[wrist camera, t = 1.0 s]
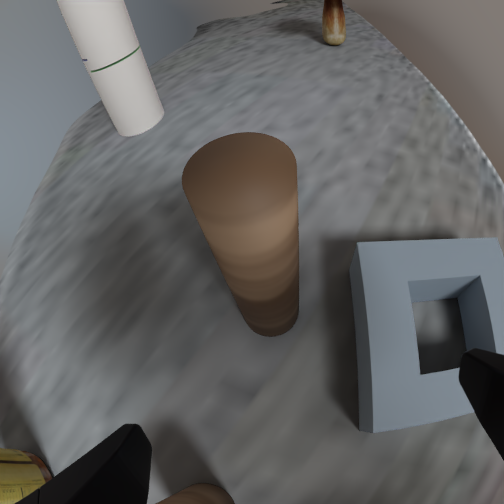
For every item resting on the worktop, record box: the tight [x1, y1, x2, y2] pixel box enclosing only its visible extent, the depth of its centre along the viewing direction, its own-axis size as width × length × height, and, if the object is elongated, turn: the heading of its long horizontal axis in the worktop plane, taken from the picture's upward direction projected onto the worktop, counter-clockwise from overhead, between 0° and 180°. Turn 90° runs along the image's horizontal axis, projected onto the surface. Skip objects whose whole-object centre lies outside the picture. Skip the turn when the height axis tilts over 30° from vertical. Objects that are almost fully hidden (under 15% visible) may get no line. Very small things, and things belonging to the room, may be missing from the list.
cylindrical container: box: [57, 0, 164, 137], centre depth 28 cm, size 7×7×25 cm
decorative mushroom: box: [322, 0, 346, 45], centre depth 39 cm, size 11×11×15 cm
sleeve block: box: [349, 238, 504, 433], centre depth 17 cm, size 12×12×4 cm
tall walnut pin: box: [182, 132, 299, 337], centre depth 16 cm, size 4×4×14 cm
